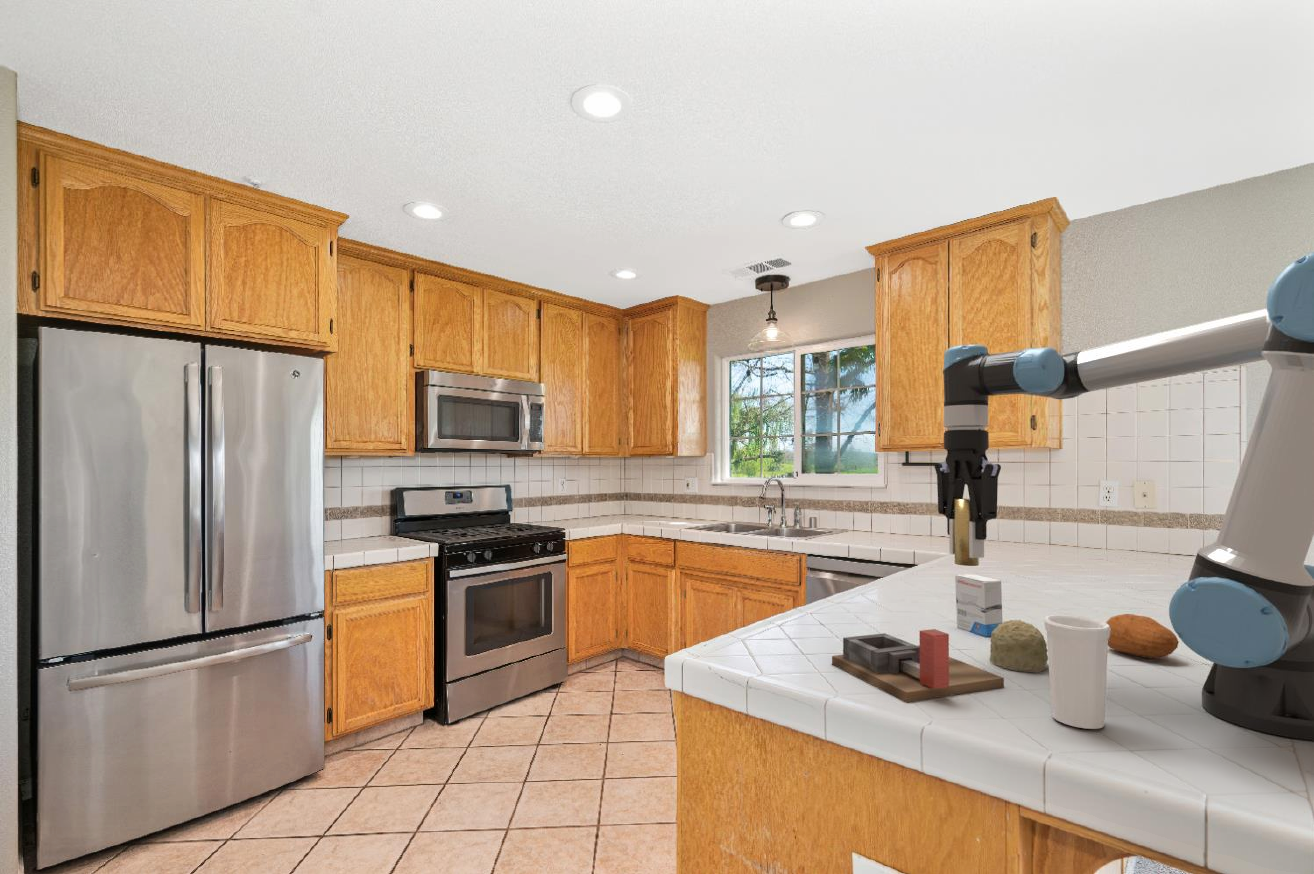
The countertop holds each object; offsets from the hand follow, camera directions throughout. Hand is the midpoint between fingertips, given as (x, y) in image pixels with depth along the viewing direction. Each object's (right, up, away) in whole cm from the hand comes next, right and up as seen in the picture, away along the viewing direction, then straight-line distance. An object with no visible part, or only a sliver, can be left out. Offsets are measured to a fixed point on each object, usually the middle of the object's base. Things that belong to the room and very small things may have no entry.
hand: (966, 555), depth 118 cm
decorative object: (+9, -20, -1) cm, 22 cm away
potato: (+36, -20, +4) cm, 41 cm away
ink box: (+13, -21, +21) cm, 32 cm away
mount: (-13, -19, -8) cm, 24 cm away
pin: (-15, -17, -14) cm, 27 cm away
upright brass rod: (0, -2, 0) cm, 2 cm away
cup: (+3, -19, -27) cm, 33 cm away
